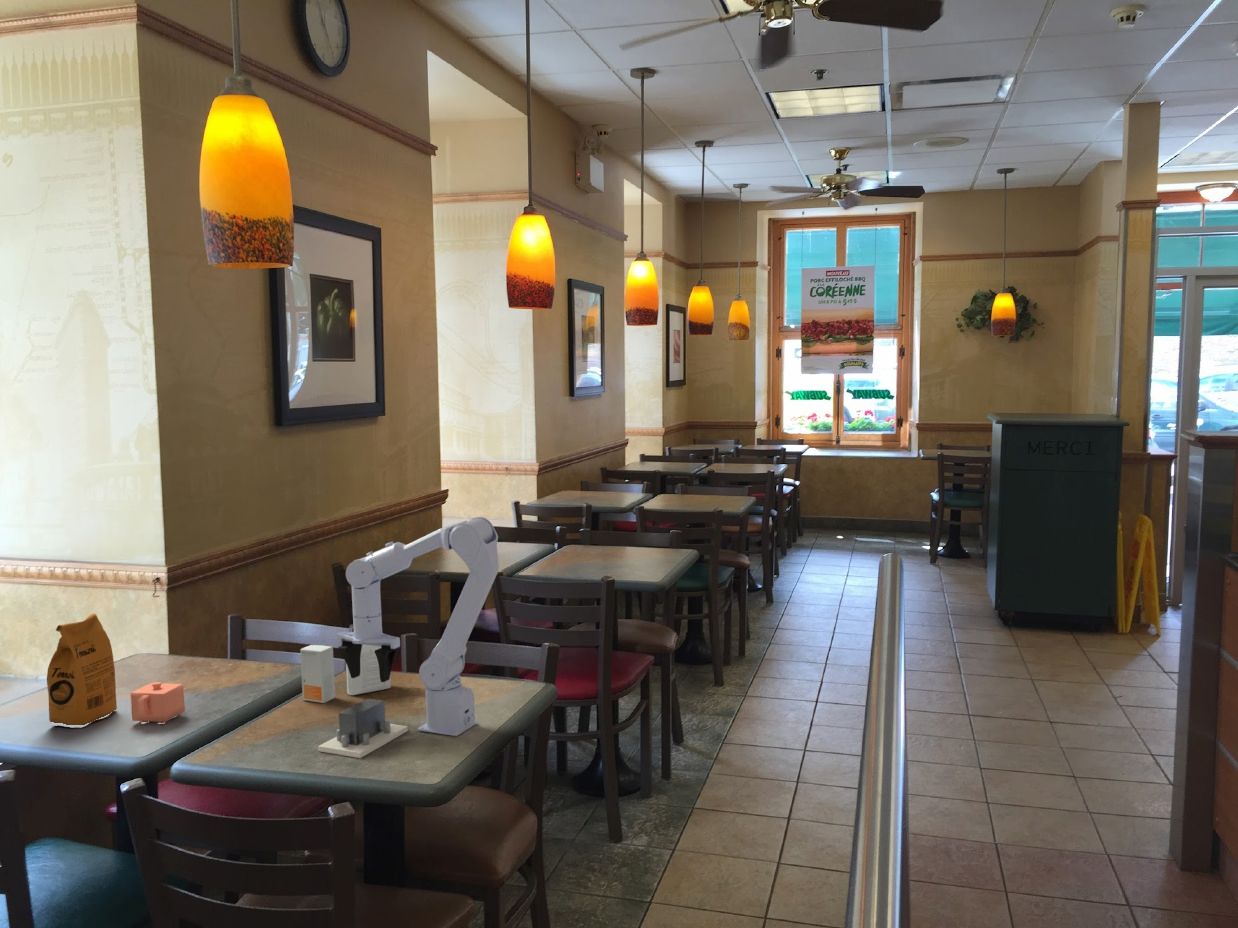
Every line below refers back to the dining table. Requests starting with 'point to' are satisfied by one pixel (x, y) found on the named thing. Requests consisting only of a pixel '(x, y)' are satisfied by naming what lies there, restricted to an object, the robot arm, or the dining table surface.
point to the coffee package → (81, 674)
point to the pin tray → (367, 744)
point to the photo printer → (367, 673)
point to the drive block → (362, 720)
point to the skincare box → (317, 673)
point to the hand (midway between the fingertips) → (370, 678)
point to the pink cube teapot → (157, 702)
